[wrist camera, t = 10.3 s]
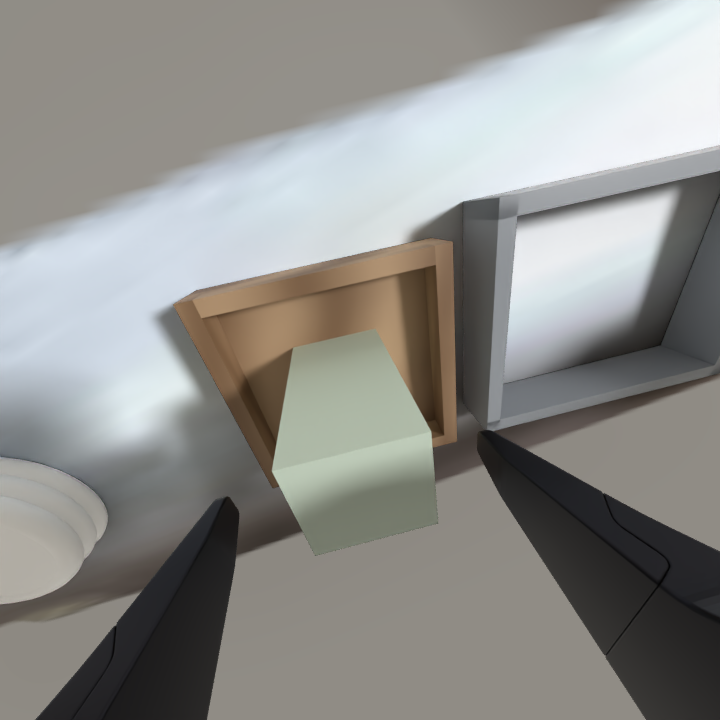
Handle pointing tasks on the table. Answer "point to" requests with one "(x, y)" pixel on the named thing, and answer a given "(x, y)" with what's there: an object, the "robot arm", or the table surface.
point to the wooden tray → (330, 331)
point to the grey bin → (597, 379)
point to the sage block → (353, 445)
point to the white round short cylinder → (43, 528)
